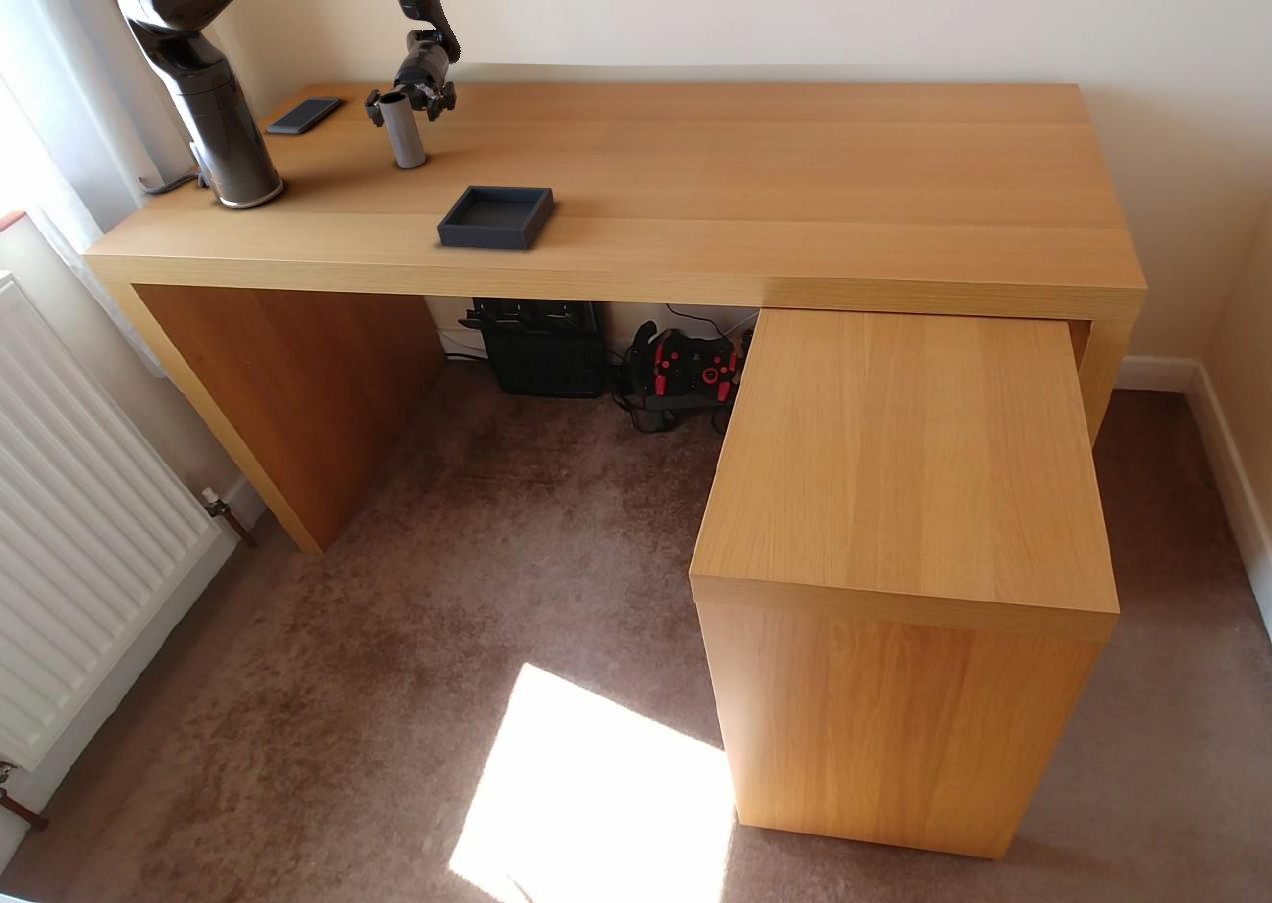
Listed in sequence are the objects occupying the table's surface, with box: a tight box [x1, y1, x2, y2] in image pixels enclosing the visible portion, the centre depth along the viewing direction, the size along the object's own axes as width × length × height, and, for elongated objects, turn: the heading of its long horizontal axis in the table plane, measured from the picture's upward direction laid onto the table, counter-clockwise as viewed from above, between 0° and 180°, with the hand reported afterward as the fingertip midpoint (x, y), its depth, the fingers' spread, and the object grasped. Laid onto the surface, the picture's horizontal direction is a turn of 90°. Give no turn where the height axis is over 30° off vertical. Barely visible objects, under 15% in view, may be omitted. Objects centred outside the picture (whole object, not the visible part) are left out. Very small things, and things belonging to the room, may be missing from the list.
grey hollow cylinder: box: [378, 91, 427, 169], centre depth 129 cm, size 4×4×10 cm
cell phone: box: [266, 96, 342, 135], centre depth 150 cm, size 7×14×1 cm, turn 161°
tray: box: [436, 185, 556, 251], centre depth 114 cm, size 13×12×3 cm
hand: (403, 118), depth 130 cm, fingers open, 8 cm apart
